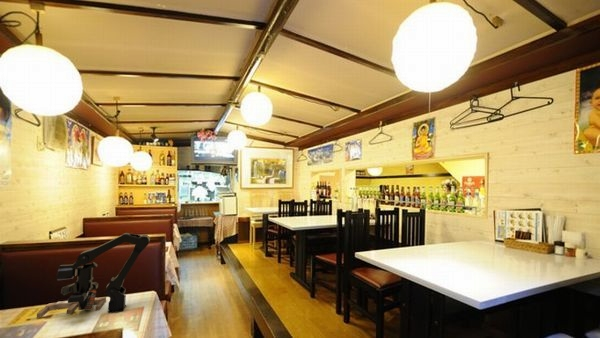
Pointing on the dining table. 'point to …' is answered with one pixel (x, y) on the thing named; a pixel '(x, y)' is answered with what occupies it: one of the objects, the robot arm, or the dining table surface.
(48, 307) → the brown wooden rack
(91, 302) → the supplement bottle
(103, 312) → the dining table surface
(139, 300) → the dining table surface
